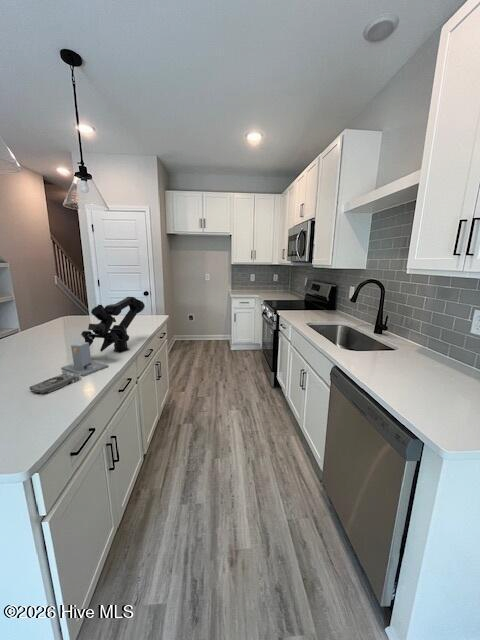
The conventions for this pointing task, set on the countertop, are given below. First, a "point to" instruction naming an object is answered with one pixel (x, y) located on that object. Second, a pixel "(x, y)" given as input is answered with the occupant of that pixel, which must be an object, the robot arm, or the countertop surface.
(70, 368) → the grey mounting plate
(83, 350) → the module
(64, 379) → the graphics card
